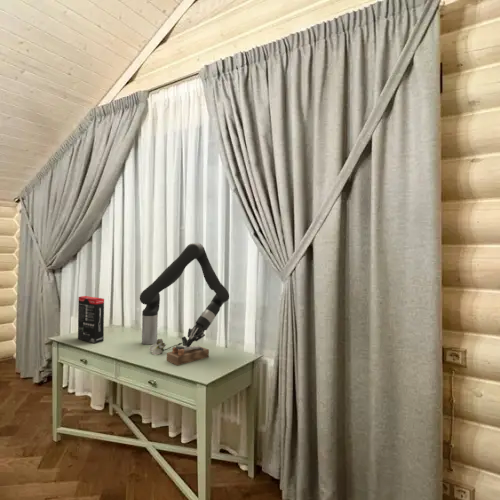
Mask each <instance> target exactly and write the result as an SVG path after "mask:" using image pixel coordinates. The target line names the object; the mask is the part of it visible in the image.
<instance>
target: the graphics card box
mask: <svg viewBox="0 0 500 500" xmlns="http://www.w3.org/2000/svg"><path fill="white" fill-rule="evenodd" d="M77 305H78V307H77V309H78V311H77V314H78V315H77V317H78V318H77V340H82V341H84V342H89V343H93V344H97V343H101V342H103V341H104V340H105V339H104V338H105V337H104V333H105V332H104V331H105V329H104V327H105V324H104V323H105V321H104V320H105V298H101V297H94V296H87V295H83V296H82V295H81V296H78V304H77Z"/></svg>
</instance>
